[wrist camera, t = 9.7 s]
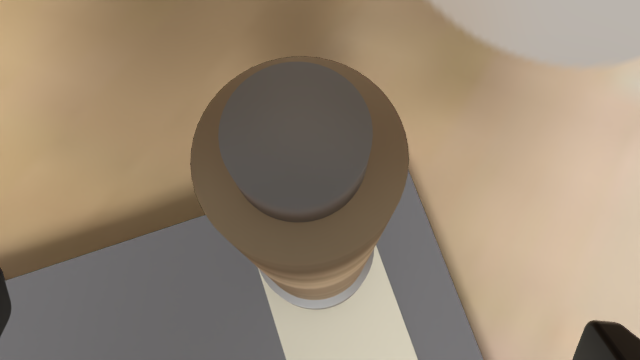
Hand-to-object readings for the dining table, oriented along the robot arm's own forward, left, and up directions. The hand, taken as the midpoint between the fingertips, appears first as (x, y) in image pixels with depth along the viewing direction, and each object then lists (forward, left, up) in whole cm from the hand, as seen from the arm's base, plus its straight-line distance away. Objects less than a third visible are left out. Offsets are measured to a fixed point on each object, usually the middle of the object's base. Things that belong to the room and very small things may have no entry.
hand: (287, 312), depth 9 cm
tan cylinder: (+2, -1, -10) cm, 10 cm away
